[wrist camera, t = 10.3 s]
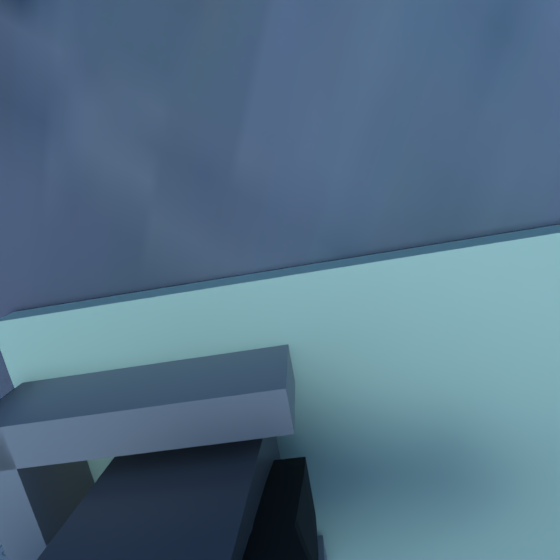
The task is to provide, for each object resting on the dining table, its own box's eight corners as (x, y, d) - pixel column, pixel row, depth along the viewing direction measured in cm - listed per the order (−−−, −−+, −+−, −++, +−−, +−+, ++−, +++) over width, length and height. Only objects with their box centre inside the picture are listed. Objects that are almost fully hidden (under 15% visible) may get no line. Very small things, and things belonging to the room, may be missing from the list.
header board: (573, 559, 14) (659, 678, 11) (115, 602, 16) (65, 719, 12) (574, 222, 11) (691, 241, 8) (14, 311, 13) (-89, 360, 9)
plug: (292, 519, 13) (266, 744, 8) (174, 523, 13) (80, 733, 8) (270, 408, 12) (224, 583, 7) (143, 418, 12) (17, 585, 7)
